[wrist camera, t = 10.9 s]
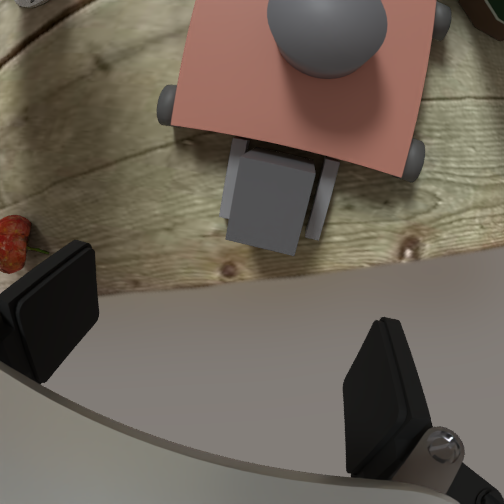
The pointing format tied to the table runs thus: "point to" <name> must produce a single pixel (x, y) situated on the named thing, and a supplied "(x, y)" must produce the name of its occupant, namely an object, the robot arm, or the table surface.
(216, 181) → the table surface
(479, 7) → the beer bottle
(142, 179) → the table surface
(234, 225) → the dark grey rounded cube
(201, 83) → the toy tractor cart
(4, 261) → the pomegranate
